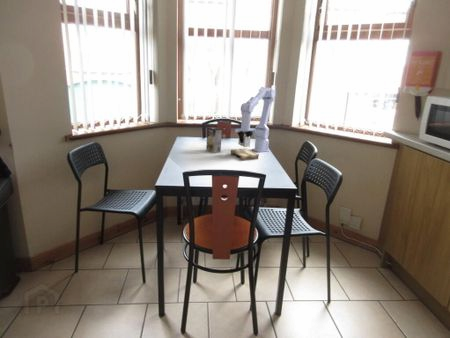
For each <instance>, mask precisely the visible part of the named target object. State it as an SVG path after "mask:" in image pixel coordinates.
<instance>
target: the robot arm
mask: <svg viewBox="0 0 450 338" xmlns="http://www.w3.org/2000/svg"><path fill="white" fill-rule="evenodd" d="M275 97H276V89H275V88H273V87H265V86H261V87H260V88H259V89H258V93H257V94H256V95H255V96H251V97H250V99H249V100H247V101H246V102H244V103H243V102H242V104H241V106H240V112H241V124H240V125H241V126H240V128H235V129H234V133H237V135H238V139H239V138H240V143H243V137H244V135H245V136H247V137H248V136H249V137H250V138H251V137H252V135H253V136H254V139H255V140H254V148H251V149H252V150H253V151H254V152H257V153H261V152H263V153H264V152H269V146H270V140H269V139H268V138H269V135H270V133H269V132H270V128H269V127H268V126H267V125H268V121H269V118H270V117H269V116H270V113H271V108H272V105H273V102H274V101H275ZM260 100H263V102H264V104H263V107H262V112H261V116H260V120H259V123H258V124H257V125H256V126H255V128H254V127H252V128H251V118H252V113H253V112H254V109H255V107H256V106H257V105H258V104H259V101H260ZM252 150H251V151H252Z"/></svg>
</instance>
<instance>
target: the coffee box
mask: <svg viewBox="0 0 450 338" xmlns="http://www.w3.org/2000/svg"><path fill="white" fill-rule="evenodd" d="M222 133H223V128H219V127H215V126H209V127H206V144H205V146H206V150H205V151H208V152H211V153H212V154H215V153H221V152H222V151H221V150H222V135H223V134H222Z"/></svg>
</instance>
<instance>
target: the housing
mask: <svg viewBox="0 0 450 338" xmlns="http://www.w3.org/2000/svg"><path fill="white" fill-rule="evenodd" d="M238 145H239V146H241V147H242V148H247V147H248V148H250V147H251V137H249V136H248V137H247V136H246V134H244V137H243V143H240V138H239V137H238Z"/></svg>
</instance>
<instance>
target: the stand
mask: <svg viewBox="0 0 450 338" xmlns="http://www.w3.org/2000/svg"><path fill="white" fill-rule="evenodd" d="M230 155H231V156H235V155H237V156H239V157H240V160H241V161H249V160H250V161H251V160H259V156H260V155H259V154H258V152H257V153H256V151H252V150H250V149H248V148H247V147H244V148H237V149H235V148H233V149H230Z"/></svg>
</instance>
